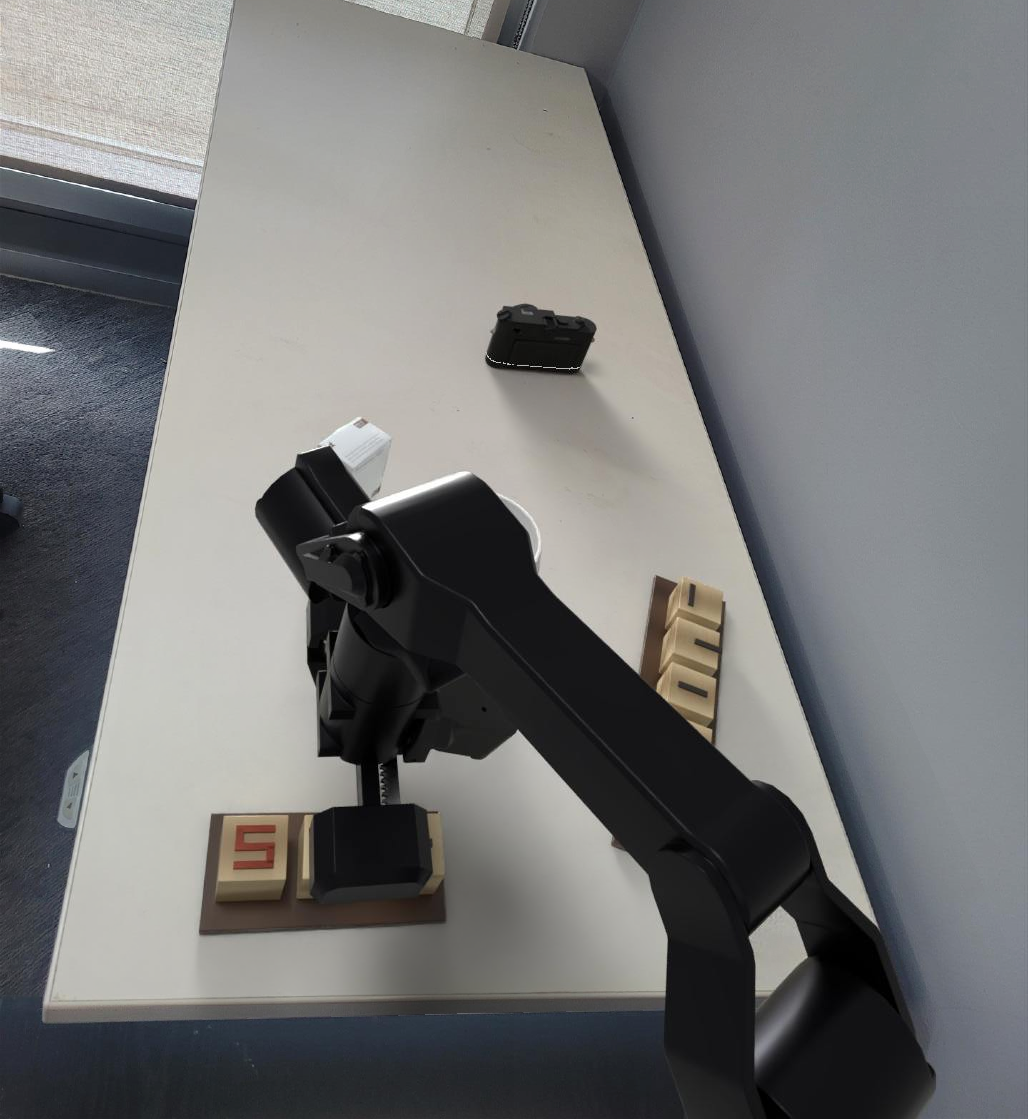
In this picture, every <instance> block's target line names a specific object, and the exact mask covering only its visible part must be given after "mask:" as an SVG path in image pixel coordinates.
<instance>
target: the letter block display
mask: <svg viewBox="0 0 1028 1119" xmlns="http://www.w3.org/2000/svg"><path fill="white" fill-rule="evenodd" d="M723 598H724V591H723V590H720V589H719V588H716V587H713V586H712V585H711V586H710V585H708V584H705V583H703V582H701V581H698V580H695V579H693V578H689V577H687V576H685V575H682V576H681V578H680V580H679V581H678V582H676V581H673V580H671V579H668V578H665V577H662V576H661V575H657V574H655V575H654V576H653V581H652V586H651V593H650V599H649V603H648V604H649V605H648V613H647V617H646V624H645V630H644V631H645V632H644V636H643V642H642V647H641V648H642V650H641V655H640V661H639V667H638V672H637V673H638V674H639V675H640V676H641V677H642V678H643V679H644V680H645V681H646V682H647V683H648V684H649V685H650V686H651V687H653V688H654V689H655V690H656V691H657V692H658V693H659V694H660V695H661V696H662V697H663V698H664V699H665V700H666V701H667V702H668V703H669V704H670V705H671V706H673V707H674V708H675V709H676V710H677V711H678V712H679V713H680V714H681V715H682V716H683V717H684V718H685V719H686V720H687V721H688V722H689V723H690V724H691V725H693V726H694V727H695V728H696V729H697V730H698V731H699V732H700V733H701V734H702V735H703V736H704V737H705V738H706V739H707V740H708V741H709V742H710V743H711V744H713V745H714V746H715V747H716V740H717V723H718V710H719V696H720V684H721V671H722V670H721V669H722V657H723V650H724V648H723V644H724V632H725V631H724V630H725V616H726V605H727V604H726V603H727V602H726V601H724V600H723ZM611 836H612V837H611V843H610V845H611V846H612V847H615V848H618V849H621V850H623V851H625V852H627V851H626V850H625V849H624V848H623V847H622V845H621V844H620V843H619V842H618V841H617V840H616V839H615V838H614V836H613V835H611Z"/></svg>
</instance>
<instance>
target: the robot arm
mask: <svg viewBox="0 0 1028 1119" xmlns="http://www.w3.org/2000/svg"><path fill="white" fill-rule="evenodd" d="M496 493H497V492H495V491H494V489H493V488H492V487H490V485H489V484H488V483H487V482H486V481H484V480H483V479H482V478H480V477H479V476H477V475H476V474H474V473H473V472H470V471H467V470H459V471H454V472H451V473H448V474H445V475H442V476H439V477H437V478H434V479H431V480H428V481H426V482H422V483H420V484H417V485H414V486H411V487H409V488H405V489H403V490H400V491H396V492H394V493H390V494H389V495H385V496H383V497H380V498H378V499H377V500H374V501H371V499H370V498H369V497H368V495H367V494H366V493H365V491H364V490H363V489H362V487H361V486H360V485H359V484H358V482H357V481H356V480H355V478H354V477H353V476H352V474H351V473H350V472H349V470H348V469H347V468H346V466H345V465H344V464H343V462H342V461H341V460H340V458H339V457H338V455H337V454H336V453H335V451H334V450H333V449H332V447H331V446H330V445H326V446H323V447H319V448H317V447H316V448H313V449H310V450H307V451H302V452H300V453H297V454H296V457H295V464H294V467H292V468H290V469H289V470H287V471H286V472H284V473H283V474H281V475H280V476H278V478H277V479H276V480H274V481H273V483H271V484H270V485H269V486H268V488H267V489H266V490H265V492H264V493H263V494H262V496H261V497H260V498H258V499H257V500H256V502H255V506H254V515H255V518H256V520H257V522H258V523H259V525H260V526H261V528H262V530H263V531H264V533H265V534H266V536H267V537H268V539H269V540H270V542H271V543H272V545H273V546H274V548H275V549H276V551H277V552H278V554H279V556H280V557H281V558H282V560H283V562H284V563H285V564H286V566H287V567H288V569H289V571H290V572H291V574H292V575H293V577H294V578H295V580H296V581H297V583H298V584H299V586H300V587H301V589H302V590H303V593H304V594H305V595H306V596H307V598H308V600H307V604H306V609H305V621H306V622H305V625H306V626H305V627H306V628H305V629H306V630H305V631H306V632H305V633H306V664H307V666H308V667H307V668H308V671H309V673H310V676H311V679H312V681H313V683H314V686H315V696H316V702H315V703H316V747H317V748H316V751H317V755H316V756H317V758H339V759H340V760H341V761H343V762H345V763H347V764H351V765H354V766H355V780H356V799H357V800H356V801H357V805H347V806H345V805H344V806H331V807H329V808H327V809H324V810H322V811H319V812H320V813H317V814H315V815H313V818H312V821H311V825H310V828H309V894H310V895H311V896H312V897H313V898H314V899H315V900H316V901H317V902H318V903H319V904H320V905H325V904H338V903H351V902H364V901H377V900H390V899H403V898H416V897H417V896H418V895H419V894H420V892H421V891H422V890H423V889H424V887H425V886H426V884H427V883H428V881H429V879H430V877H431V876H432V874H433V865H432V855H431V845H430V836H429V826H428V816H427V811H428V809H426V808H425V807H423V806H420V805H418V804H416V803H415V802H413V803H412V802H411V803H402V802H401V801H402V800H401V799H402V798H401V788H400V777H399V765H398V756H402V763H404V764H420V763H422V764H423V763H426V761H427V758H428V757H429V754H430V752H431V750H434V751H436V752H440V753H445V754H450V755H451V754H452V755H457V756H464V757H469V758H470V759H472V760H474V761H475V760H476V761H481V760H484V759H486V758H487V757H488V756H489V755H490V754H492V753H493V752H494V751H496V750H497V749H498V748H499V747H501V745H503V744H505V743H506V742H507V741H508V740H510V739H511V738H512V737H514V736H515V734H517V732H519V733H520V734H521V735H522V736H523V737H524V738H525V739H526V741H527V742H528V743H529V744H530V746H532V747H533V748H534V750H535V751H536V752H537V753H538V754H539V755H540V756H541V757H542V758H543V760H544V761H545V762H546V763H547V764H548V765H549V766H550V767H551V769H552V770H553V771H554V772H555V773H556V774H557V775H558V777H559V778H561V780H562V781H563V782H564V783H565V784H566V785H567V787H568V788H569V789H570V790H571V791H572V792H573V793H574V794H575V796H576V797H577V798H578V799H579V800H580V801H581V802H582V803H583V804H584V806H585V807H587V809H588V810H589V811H590V812H591V813H592V814H593V816H594V817H595V818H596V819H597V820H598V821H599V822H600V823H601V824H602V825H603V827H604V828H605V829H606V830H607V831H608V832H609V833H610V835H611V836H614V838H615V839H616V840H617V841H618V842H619V843H620V844H621V845H622V847H623V848H624V849H625V850H626V851H625V850H624V851H625V852H627V853H628V854H629V856H630V857H631V858H632V859H633V860H634V862H636V864H637V865H638V866H639V867H640V868H641V869H642V870H643V871H644V872H645V873H646V875H647V876H648V882H649V886H650V890H651V893H652V897H653V899H654V901H655V902H654V903H655V905H656V907H657V910H658V913H659V916H660V920H661V922H662V925H663V927H664V930H665V933H666V938H667V941H666V942H667V943H666V948H667V949H666V966H665V967H666V968H665V970H666V971H665V994H664V996H665V999H664V1020H663V1021H664V1022H663V1048H664V1055H665V1058H666V1061H667V1064H668V1068H669V1070H670V1073H671V1076H672V1078H673V1079H672V1080H673V1082H674V1084H675V1088H676V1090H677V1093H678V1097H679V1099H680V1102H681V1104H682V1108H683V1110H682V1115H681V1119H920V1117H921V1116H922V1115H923V1113H924V1112H925V1110H926V1109H927V1107H928V1106H929V1105H930V1103H931V1101H932V1099H933V1098H934V1095H935V1093H936V1091H937V1073H936V1070H935V1068H934V1066H933V1064H932V1063H931V1062H930V1061H927V1060H926V1056H925V1054H924V1051H923V1048H922V1046H921V1045H920V1043H919V1042H918V1037H917V1032H916V1029H915V1024H914V1022H913V1019H912V1016H911V1013H910V1010H909V1007H908V1004H907V1002H906V998H905V997H904V993H903V991H902V988H901V984H900V981H899V979H898V976H897V972H896V970H895V967H894V965H893V961H892V959H891V956H890V953H889V950H888V947H887V944H886V941H885V939H884V935H883V933H882V932H881V930H880V929H879V927H878V926H877V925H876V924H875V923H874V922H873V921H872V920H871V919H870V918H869V917H868V916H867V915H866V914H865V913H863V911H862V910H861V909H860V908H859V907H858V906H857V905H855V903H854V902H853V901H851V899H850V898H848V896H846V894H844V893H843V892H842V891H841V890H840V889H839V888H838V886H836V885H835V884H834V883H833V882H832V881H831V880H830V879H829V877H828V874H827V871H826V868H825V865H824V863H823V859H822V856H821V854H820V851H819V848H818V845H817V843H816V842H817V841H816V839H815V836H814V833H813V831H812V829H811V827H810V826H809V823H808V820H807V819H806V817H805V815H804V813H803V812H802V810H800V809H799V807H798V806H797V805H796V804H795V803H794V802H793V800H792V799H791V798H790V797H789V795H787V794H785V793H784V792H783V791H782V790H780V789H779V788H777V787H776V786H775V785H773V784H770V783H768V782H764V781H762V780H759V779H749V778H748V776H747V775H745V773H743V772H742V771H741V770H740V769H739V768H738V767H737V766H736V765H735V764H734V763H732V761H731V760H730V759H729V758H727V756H725V755H724V754H723V753H722V752H721V751H720V750H719V749H718V748H717V747H716V745H715V746H714V745H713V744H711V743H710V742H709V741H708V740H707V739H706V738H705V737H704V736H703V735H702V734H701V733H700V732H699V731H698V730H697V729H696V728H695V727H694V726H693V725H691V724H690V723H689V722H688V721H687V720H686V719H685V718H684V717H683V716H682V715H681V714H680V713H679V712H678V711H677V710H676V709H675V708H674V707H673V706H671V705H670V704H669V703H668V702H667V701H666V700H665V699H664V698H663V697H662V696H661V695H660V694H659V693H658V692H657V691H656V690H655V689H654V688H653V687H651V686H650V685H649V684H648V683H647V682H646V681H645V680H644V679H643V678H642V677H641V676H640V675H639V674H638V673H639V672H637V671H636V670H635V669H633V667H632V666H630V664H628V662H627V661H625V660H624V659H623V658H622V657H621V656H620V655H619V654H618V653H617V652H616V651H615V650H614V649H612V648H611V646H610V645H609V644H608V643H606V642H605V640H603V639H602V638H601V637H600V636H599V635H598V634H597V633H596V632H595V631H594V630H593V629H591V627H589V626H588V625H587V623H585V622H584V621H583V620H582V619H581V617H579V616H578V615H577V614H576V613H575V612H574V611H572V610H571V608H570V607H568V606H567V605H566V604H565V603H564V602H563V601H562V600H561V599H560V598H559V597H558V596H557V595H556V594H555V593H554V592H553V591H552V590H551V588H550V587H549V586H548V585H547V583H546V582H545V581H544V580H543V578H542V577H541V576H540V575H539V573H537V569H536V564H535V559H534V554H533V549H532V544H531V539H530V535H529V533H528V531H527V530H526V529H525V527H524V526H523V525H522V524H521V523H520V521H519V520H518V519H517V518H516V517H515V516H514V514H513V513H512V512H511V511H510V510H509V509H508V507H507V506H506V505H505V504H504V503H503V501H502V500H501V499H500V498H499V497H498V496H497V494H496ZM380 770H381V771H380ZM380 777H381V778H380ZM381 784H382V785H381ZM381 791H382V792H381ZM779 907H780V908H782V909H783V910H784V911H785V913H786V914H788V915H789V916H790V917H791V918H792V919H793V920H794V921H795V924H796V927H797V930H798V933H799V935H800V938H801V941H802V945H803V947H804V950H805V953H806V956H807V957H806V958H805V959H803V961H801V962H800V963H799V964H797V965H796V966H795V967H794V968H793V970H792V971H791V972H790V973H789V974H788V975H787V976H786V977H785V978H784V979H783V980H782V981H781V983H780V984H778V986H777V987H776V988H775V989H774V990H773V991H772V992H771V993H770V994H769V995H768V996H767V997H766V998H765V1000H764V1001H763V1002H761V1004H760V1005H759V1006H758V1007H757V1008H756V978H757V977H756V975H757V974H756V972H757V971H756V968H757V967H756V966H757V964H756V958H755V951H754V948H753V946H752V943H751V939H750V936H751V935H752V934H753V933H754V932H755V931H757V929H758V928H760V926H762V924H764V923H765V922H766V921H767V920H768V919H769V918H770V916H772V915H773V914H774V913H775V912H776V910H778V909H779Z"/></svg>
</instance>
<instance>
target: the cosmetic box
mask: <svg viewBox="0 0 1028 1119" xmlns="http://www.w3.org/2000/svg"><path fill="white" fill-rule="evenodd" d="M392 442H393V438H392V437H391V436H390V435H388V434H387V433H386V432H384V431H383V430H381V429H380V428H378V427H377V426H375V425H374V424H372V423H370V422H369V421H367V420H366V419H364V417H362V416H358V417H356V418H355V419H353V420H352V421H350V422H349V423H348V424H345V425H343V426H340V427H339V428H338V429H336V430H335V431H334V432H333V433H332V434H331V435H330V436H328V437H327V438H325V439H324V440H322V441H321V442H319V443H318V444H317V446H316V448H319V447H323V446H326V445H330V446H331V447H332V449H333V450H334V451H335V453H336V454H337V455H338V457H339V458H340V460H341V461H342V462H343V464H344V465H345V466H346V468H347V469H348V470H349V472H350V473H351V474H352V476H353V477H354V478H355V480H356V481H357V482H358V484H359V485H360V486H361V487H362V489H363V490H364V491H365V493H366V494H367V495H368V497H369V498H370V499H371V501H374V500H377V499H379V495H380V492H381V487H382V483H383V479H384V476H385V471H386V467H387V463H388V460H389V454H390V450H391V447H392Z"/></svg>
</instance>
